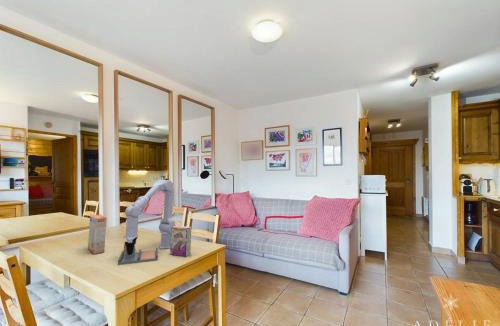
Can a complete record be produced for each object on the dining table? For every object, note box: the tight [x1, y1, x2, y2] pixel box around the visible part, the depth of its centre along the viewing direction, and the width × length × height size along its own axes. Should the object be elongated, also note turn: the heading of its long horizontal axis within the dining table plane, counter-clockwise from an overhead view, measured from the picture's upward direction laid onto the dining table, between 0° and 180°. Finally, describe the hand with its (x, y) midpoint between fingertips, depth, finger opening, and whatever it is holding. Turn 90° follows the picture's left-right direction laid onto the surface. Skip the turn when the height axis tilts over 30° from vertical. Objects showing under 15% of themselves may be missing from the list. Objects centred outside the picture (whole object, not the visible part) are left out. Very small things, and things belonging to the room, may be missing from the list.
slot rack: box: [117, 247, 159, 266], centre depth 125 cm, size 19×14×2 cm
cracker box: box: [87, 214, 108, 255], centre depth 136 cm, size 14×6×21 cm, turn 47°
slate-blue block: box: [124, 245, 136, 259], centre depth 124 cm, size 4×4×5 cm
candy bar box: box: [170, 224, 192, 258], centre depth 132 cm, size 11×5×16 cm, turn 71°
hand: (130, 252), depth 124 cm, fingers open, 7 cm apart
